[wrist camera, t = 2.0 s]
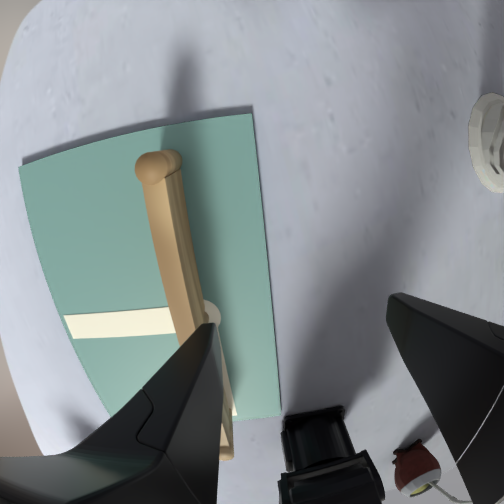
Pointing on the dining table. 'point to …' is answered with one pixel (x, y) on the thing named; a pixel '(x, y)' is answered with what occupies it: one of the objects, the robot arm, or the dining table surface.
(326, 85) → the dining table surface
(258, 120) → the dining table surface
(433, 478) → the mate gourd
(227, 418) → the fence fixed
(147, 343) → the board
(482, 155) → the french press
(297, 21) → the dining table surface
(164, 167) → the fence panel
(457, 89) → the dining table surface
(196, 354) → the robot arm
